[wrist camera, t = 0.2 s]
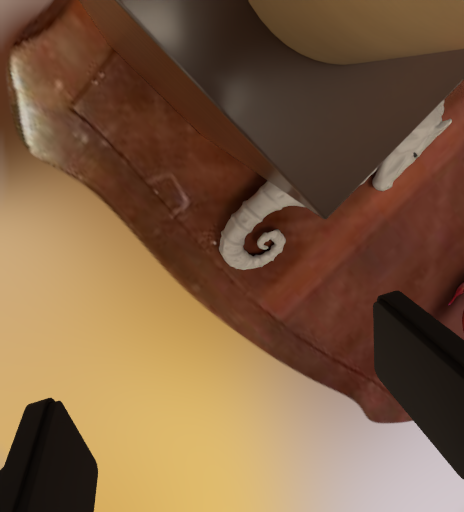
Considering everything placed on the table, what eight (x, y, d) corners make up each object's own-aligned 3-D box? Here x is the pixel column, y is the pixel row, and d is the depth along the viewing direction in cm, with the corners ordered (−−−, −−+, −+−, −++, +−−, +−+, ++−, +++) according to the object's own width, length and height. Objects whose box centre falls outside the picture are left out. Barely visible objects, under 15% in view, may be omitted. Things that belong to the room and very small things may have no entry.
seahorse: (289, 306, 33) (480, 134, 27) (199, 269, 25) (441, 11, 19) (265, 268, 36) (429, 107, 30) (178, 224, 28) (378, -6, 22)
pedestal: (108, 44, 23) (-10, -131, 5) (192, -64, 22) (427, -794, 4) (201, 134, 26) (325, 221, 8) (278, 46, 25) (612, -69, 7)
